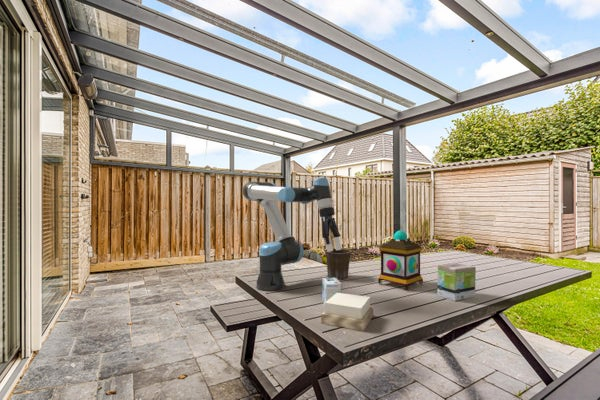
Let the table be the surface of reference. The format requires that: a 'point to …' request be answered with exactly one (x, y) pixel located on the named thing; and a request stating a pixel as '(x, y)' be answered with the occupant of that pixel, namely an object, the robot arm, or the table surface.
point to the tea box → (456, 281)
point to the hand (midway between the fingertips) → (334, 250)
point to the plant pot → (338, 263)
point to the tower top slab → (347, 305)
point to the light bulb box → (330, 288)
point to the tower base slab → (347, 320)
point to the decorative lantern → (400, 261)
